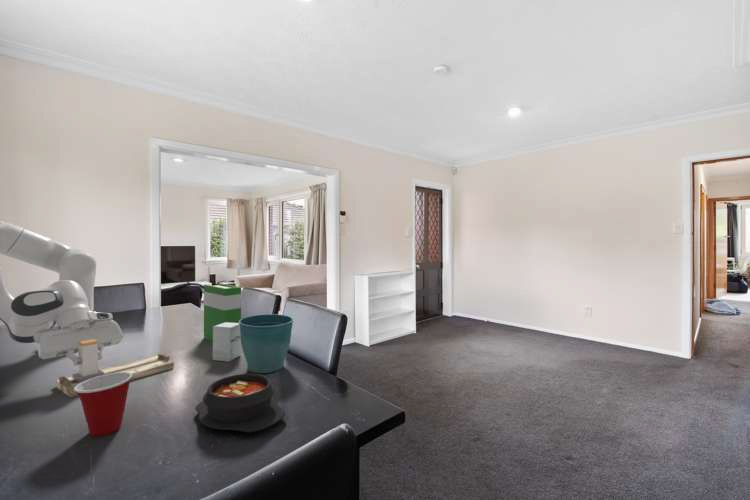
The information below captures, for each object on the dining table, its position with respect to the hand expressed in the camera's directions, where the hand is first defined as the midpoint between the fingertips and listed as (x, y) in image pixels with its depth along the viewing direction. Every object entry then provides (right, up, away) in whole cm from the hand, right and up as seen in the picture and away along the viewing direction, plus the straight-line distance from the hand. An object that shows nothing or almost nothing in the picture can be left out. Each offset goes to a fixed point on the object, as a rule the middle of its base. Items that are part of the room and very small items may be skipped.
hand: (89, 361), depth 106 cm
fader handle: (-1, -5, 0) cm, 5 cm away
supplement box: (+30, -7, +27) cm, 41 cm away
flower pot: (+48, -8, +17) cm, 52 cm away
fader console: (+4, -7, +7) cm, 11 cm away
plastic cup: (+23, -9, -24) cm, 34 cm away
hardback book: (+19, -6, +49) cm, 53 cm away
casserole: (+52, -9, -16) cm, 55 cm away
